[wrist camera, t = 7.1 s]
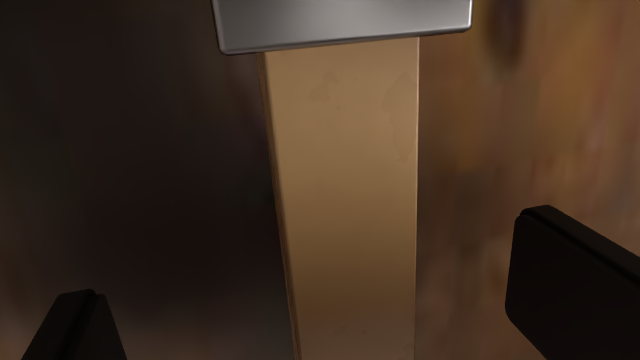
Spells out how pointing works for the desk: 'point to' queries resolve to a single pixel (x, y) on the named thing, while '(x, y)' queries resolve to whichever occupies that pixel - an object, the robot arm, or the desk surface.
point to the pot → (343, 159)
